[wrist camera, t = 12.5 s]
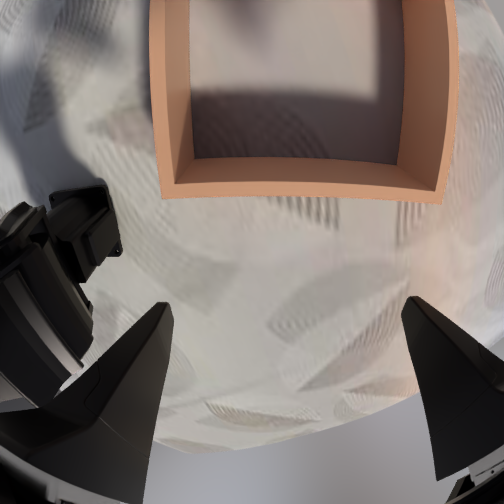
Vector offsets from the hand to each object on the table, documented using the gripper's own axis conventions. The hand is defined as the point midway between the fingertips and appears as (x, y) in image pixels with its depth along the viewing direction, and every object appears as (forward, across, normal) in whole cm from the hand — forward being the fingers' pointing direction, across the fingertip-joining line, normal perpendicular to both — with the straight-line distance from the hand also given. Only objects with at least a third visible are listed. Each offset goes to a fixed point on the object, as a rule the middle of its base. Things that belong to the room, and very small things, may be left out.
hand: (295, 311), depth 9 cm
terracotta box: (+12, -2, -10) cm, 16 cm away
